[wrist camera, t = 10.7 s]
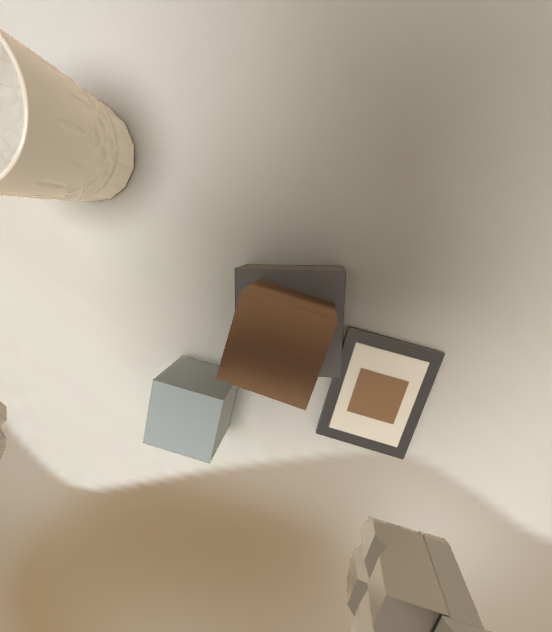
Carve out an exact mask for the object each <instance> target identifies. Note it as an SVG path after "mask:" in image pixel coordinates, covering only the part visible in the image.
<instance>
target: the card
mask: <svg viewBox="0 0 552 632" xmlns="http://www.w3.org/2000/svg"><path fill="white" fill-rule="evenodd" d="M444 355H445V354H444V353H443V352H440V351H437V350H433V349H429V348H426V347H422V346H418V345H415V344H411V343H407V342H404V341H400V340H396V339H393V338H389V337H385V336H382V335H378V334H374V333H371V332H367V331H363V330H360V329H356V328H352V327H348V330H347V333H346V336H345V339H344V343H343V346H342V354H341V372H340V378H334V377H333V378H332V381H331V384H330V388H329V391H328V394H327V397H326V400H325V404H324V407H323V410H322V413H321V416H320V420H319V423H318V426H317V429H316V433H317V434H320V435H324V436H327V437H330V438H334V439H337V440H340V441H344V442H347V443H350V444H354V445H357V446H360V447H364V448H367V449H370V450H373V451H377V452H380V453H383V454H387V455H390V456H393V457H397V458H400V459H404V456H405V454H406V451H407V449H408V446H409V443H410V441H411V438H412V436H413V433H414V431H415V428H416V426H417V423H418V421H419V418H420V416H421V413H422V411H423V408H424V405H425V403H426V400H427V398H428V395H429V393H430V390H431V388H432V385H433V383H434V380H435V378H436V375H437V372H438V370H439V367H440V365H441V362H442V360H443V357H444Z"/></svg>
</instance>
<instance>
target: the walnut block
mask: <svg viewBox="0 0 552 632" xmlns="http://www.w3.org/2000/svg"><path fill="white" fill-rule="evenodd" d="M337 324H338V318H337V313H336V307H335V303H332V302H329V301H326V300H322V299H319V298H316V297H313V296H310V295H307V294H304V293H301V292H298V291H295V290H292V289H289V288H286V287H283V286H280V285H277V284H274V283H271V282H268V281H265V280H262V279H258V280H257V281H255V282H254V283H252V284H250V285H249V286H247V287H245V288H244V289H242V290H241V293H240V297H239V300H238V304H237V307H236V311H235V314H234V318H233V321H232V325H231V328H230V332H229V335H228V339H227V342H226V345H225V349H224V352H223V356H222V359H221V363H220V366H219V370H218V373H217V377H216V379H219V380H221V381H224V382H227V383H230V384H233V385H235V386H238V387H241V388H244V389H247V390H250V391H252V392H255V393H258V394H261V395H264V396H267V397H269V398H272V399H275V400H278V401H281V402H284V403H286V404H289V405H292V406H295V407H298V408H301V409H303V410H306V408H307V405H308V402H309V400H310V397H311V394H312V391H313V389H314V386H315V383H316V381H317V378H318V375H319V373H320V370H321V367H322V365H323V362H324V359H325V357H326V354H327V351H328V348H329V346H330V343H331V340H332V338H333V335H334V332H335V330H336V327H337Z"/></svg>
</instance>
